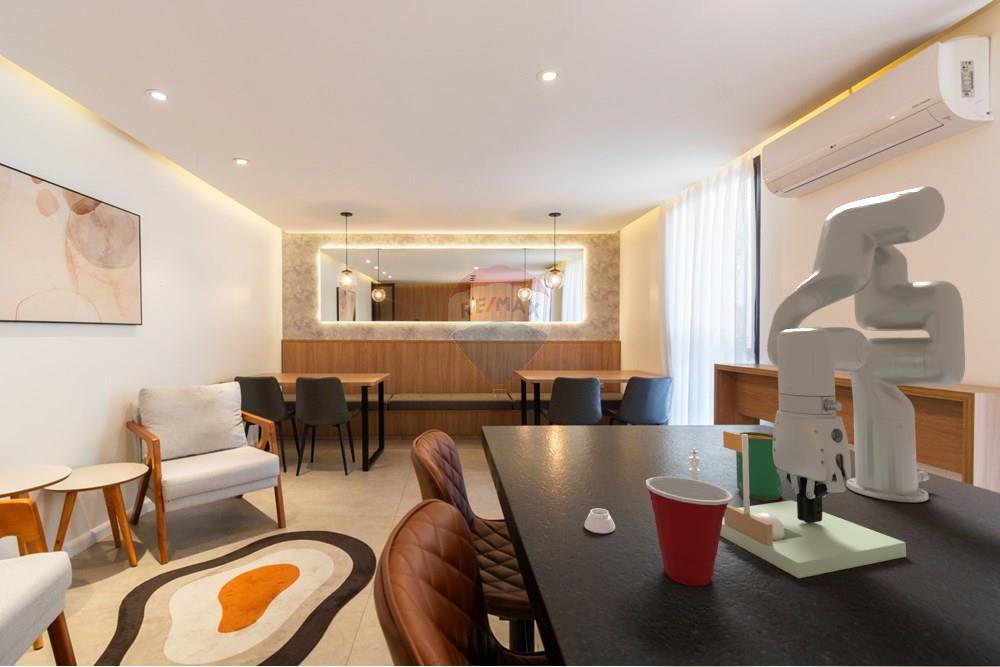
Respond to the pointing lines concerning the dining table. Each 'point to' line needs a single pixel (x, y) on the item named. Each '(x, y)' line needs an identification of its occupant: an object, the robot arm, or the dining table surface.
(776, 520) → the white egg
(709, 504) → the plastic cup
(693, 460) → the chess piece
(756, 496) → the beverage can
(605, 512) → the white jar
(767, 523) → the green
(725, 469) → the dining table surface
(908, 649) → the dining table surface
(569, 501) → the dining table surface
